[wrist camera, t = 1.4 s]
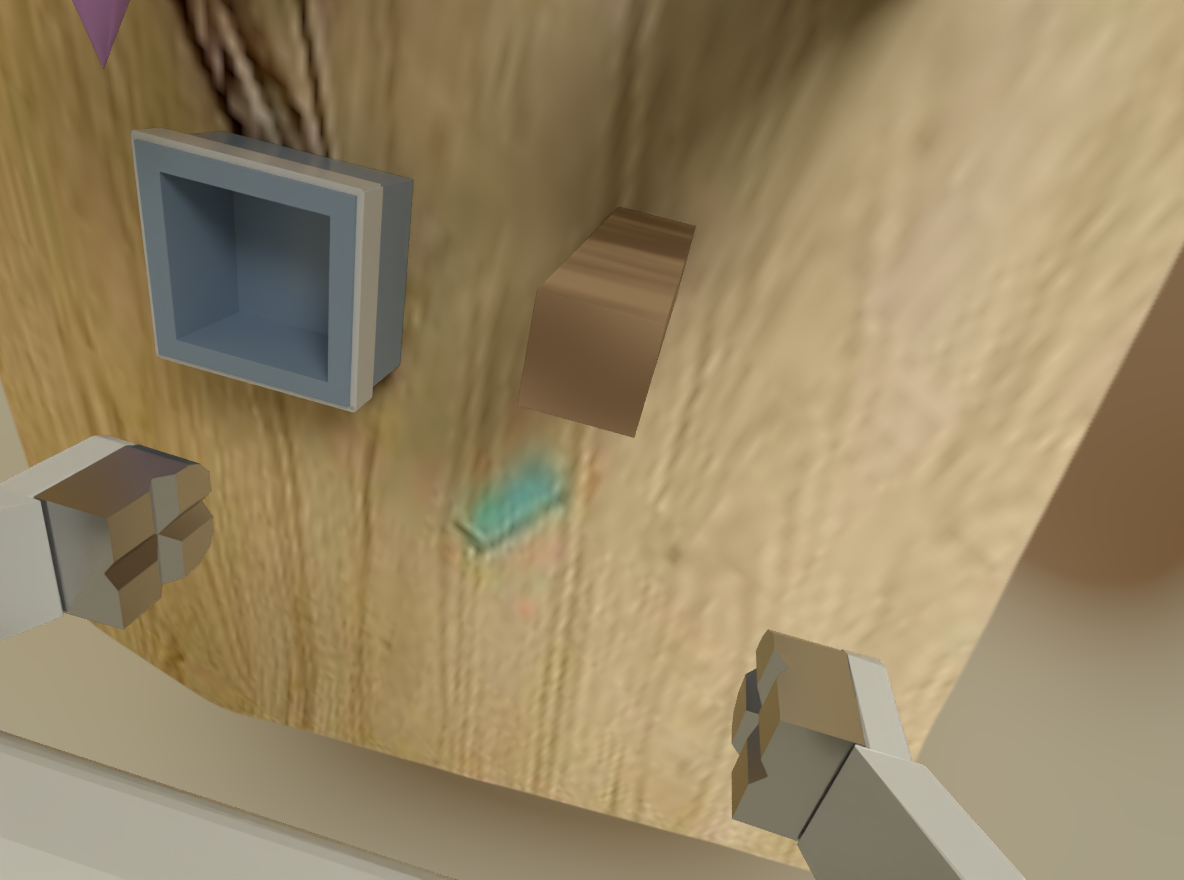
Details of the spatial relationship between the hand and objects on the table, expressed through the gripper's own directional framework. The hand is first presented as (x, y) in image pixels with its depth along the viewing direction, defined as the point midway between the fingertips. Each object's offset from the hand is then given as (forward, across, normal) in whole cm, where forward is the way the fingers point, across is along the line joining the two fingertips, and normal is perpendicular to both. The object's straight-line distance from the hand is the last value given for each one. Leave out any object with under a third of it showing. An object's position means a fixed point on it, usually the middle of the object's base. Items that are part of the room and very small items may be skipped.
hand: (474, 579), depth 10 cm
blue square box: (+24, +16, +4) cm, 29 cm away
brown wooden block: (+24, 0, 0) cm, 24 cm away
